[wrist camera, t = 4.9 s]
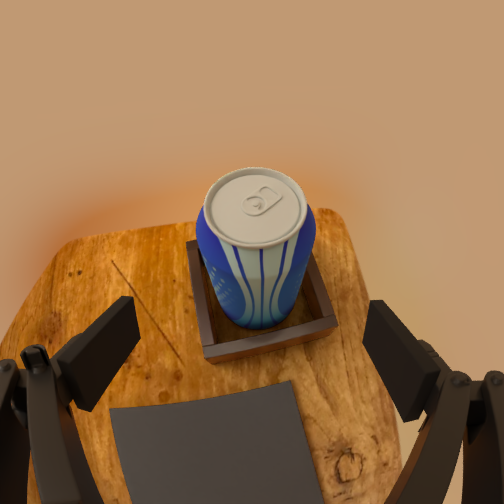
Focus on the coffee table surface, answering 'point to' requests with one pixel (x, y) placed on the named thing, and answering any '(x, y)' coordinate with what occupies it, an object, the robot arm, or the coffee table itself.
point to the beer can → (256, 244)
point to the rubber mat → (218, 450)
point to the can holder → (267, 341)
